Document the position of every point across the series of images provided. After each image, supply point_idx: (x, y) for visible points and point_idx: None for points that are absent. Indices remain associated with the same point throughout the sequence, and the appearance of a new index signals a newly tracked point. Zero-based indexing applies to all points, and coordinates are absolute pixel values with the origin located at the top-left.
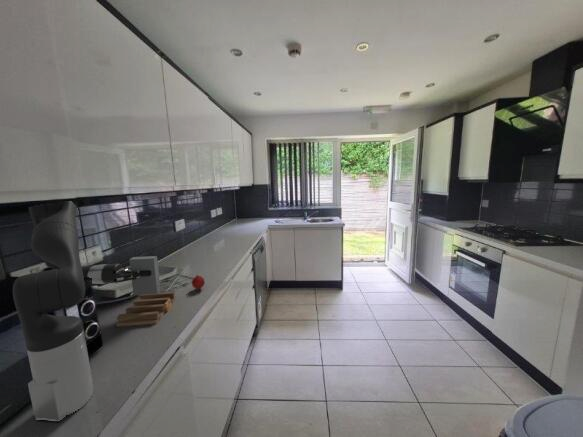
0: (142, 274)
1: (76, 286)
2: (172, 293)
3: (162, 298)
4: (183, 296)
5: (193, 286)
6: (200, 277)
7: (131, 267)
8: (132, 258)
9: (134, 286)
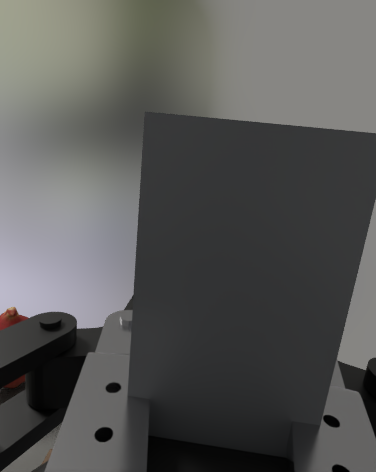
0: None
1: None
2: None
3: None
4: (48, 446)
5: (24, 375)
6: (24, 316)
7: (322, 354)
8: (285, 128)
9: None
